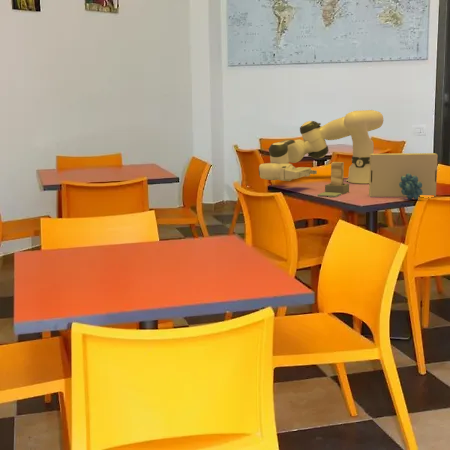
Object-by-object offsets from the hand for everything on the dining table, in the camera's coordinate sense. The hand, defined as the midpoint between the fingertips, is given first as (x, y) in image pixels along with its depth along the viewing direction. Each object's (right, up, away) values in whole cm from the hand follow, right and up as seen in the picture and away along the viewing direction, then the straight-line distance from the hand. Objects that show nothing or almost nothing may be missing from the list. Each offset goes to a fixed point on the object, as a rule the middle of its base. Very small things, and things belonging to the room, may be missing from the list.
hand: (312, 173), depth 339 cm
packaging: (+40, -12, -19) cm, 46 cm away
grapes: (+40, -15, -30) cm, 53 cm away
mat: (+6, -12, -13) cm, 19 cm away
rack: (+12, -10, -4) cm, 16 cm away
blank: (+12, -10, -4) cm, 16 cm away
